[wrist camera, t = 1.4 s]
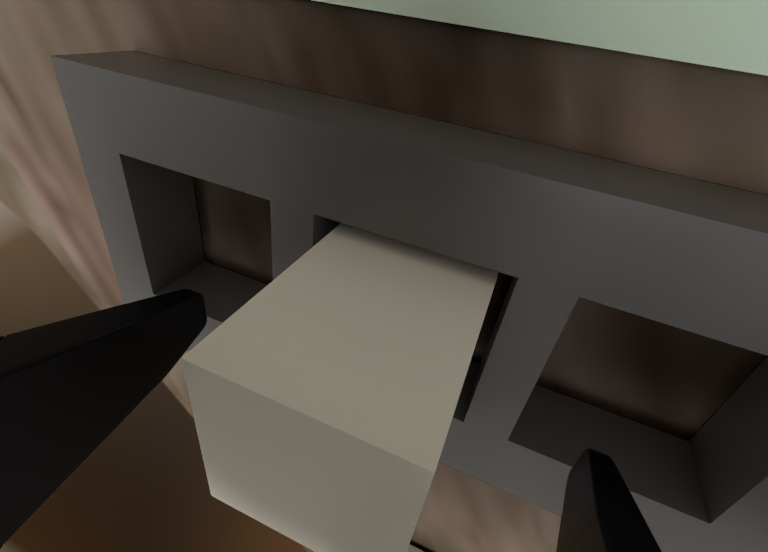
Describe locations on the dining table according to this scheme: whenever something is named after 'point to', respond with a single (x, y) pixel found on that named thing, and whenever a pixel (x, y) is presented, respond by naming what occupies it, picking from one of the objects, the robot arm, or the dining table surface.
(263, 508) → the plug
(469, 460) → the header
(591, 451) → the robot arm
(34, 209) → the dining table surface
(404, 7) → the mat
